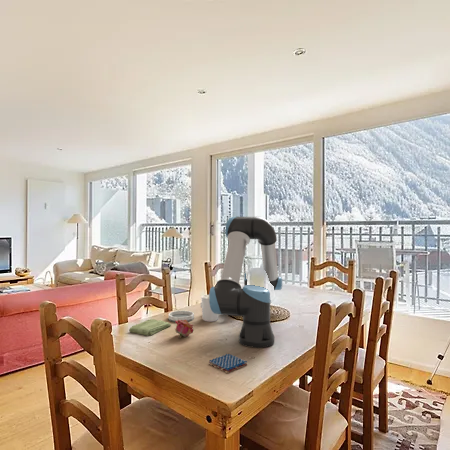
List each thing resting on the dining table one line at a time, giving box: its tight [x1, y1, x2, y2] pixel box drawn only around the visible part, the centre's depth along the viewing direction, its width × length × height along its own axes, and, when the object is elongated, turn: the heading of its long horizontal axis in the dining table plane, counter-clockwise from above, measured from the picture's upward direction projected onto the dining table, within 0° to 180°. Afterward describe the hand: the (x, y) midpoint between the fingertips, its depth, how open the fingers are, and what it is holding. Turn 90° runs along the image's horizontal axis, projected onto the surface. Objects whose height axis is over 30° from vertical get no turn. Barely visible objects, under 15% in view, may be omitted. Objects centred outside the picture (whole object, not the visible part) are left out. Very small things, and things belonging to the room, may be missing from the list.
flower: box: [174, 319, 194, 339], centre depth 147 cm, size 10×9×8 cm
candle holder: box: [200, 294, 220, 322], centre depth 175 cm, size 10×10×12 cm
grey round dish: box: [168, 309, 195, 323], centre depth 176 cm, size 13×13×3 cm
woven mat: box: [208, 353, 248, 374], centre depth 119 cm, size 10×11×2 cm
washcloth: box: [129, 318, 172, 337], centre depth 158 cm, size 13×18×3 cm
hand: (208, 307), depth 174 cm, fingers open, 13 cm apart
